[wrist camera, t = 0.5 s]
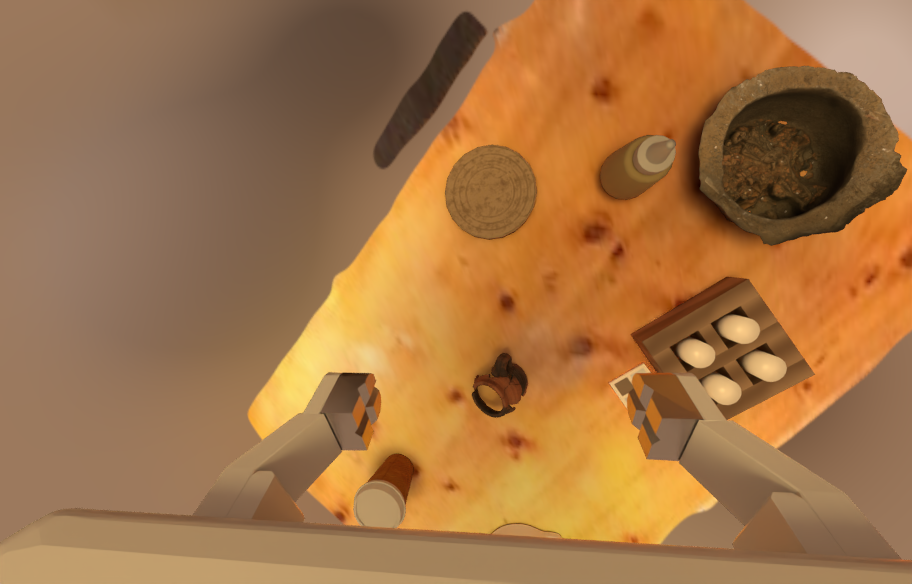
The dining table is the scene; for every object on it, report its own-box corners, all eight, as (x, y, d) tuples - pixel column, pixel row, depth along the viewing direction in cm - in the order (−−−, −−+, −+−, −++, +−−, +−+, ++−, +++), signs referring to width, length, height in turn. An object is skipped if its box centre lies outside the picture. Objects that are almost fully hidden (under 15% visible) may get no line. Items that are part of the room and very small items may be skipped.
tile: (665, 394, 59) (666, 395, 59) (630, 413, 60) (631, 415, 60) (643, 362, 59) (644, 363, 59) (608, 382, 60) (609, 383, 60)
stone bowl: (752, 275, 55) (796, 276, 46) (640, 174, 57) (661, 156, 48) (893, 160, 50) (974, 136, 41) (764, 55, 53) (813, 10, 43)
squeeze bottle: (644, 201, 56) (707, 176, 38) (594, 205, 57) (633, 183, 40) (644, 152, 55) (709, 103, 38) (593, 157, 57) (633, 112, 39)
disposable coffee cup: (408, 497, 69) (388, 547, 57) (370, 473, 70) (342, 518, 58) (428, 461, 68) (412, 505, 56) (389, 438, 68) (364, 476, 56)
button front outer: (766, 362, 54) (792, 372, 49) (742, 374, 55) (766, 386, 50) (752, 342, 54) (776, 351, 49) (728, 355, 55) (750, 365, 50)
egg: (701, 350, 55) (720, 359, 50) (679, 362, 56) (696, 372, 51) (688, 330, 55) (705, 338, 50) (666, 343, 56) (681, 351, 51)
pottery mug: (530, 403, 64) (511, 430, 57) (488, 386, 69) (466, 410, 63) (533, 349, 59) (512, 372, 53) (487, 336, 64) (464, 355, 58)
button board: (787, 363, 56) (814, 374, 51) (688, 416, 59) (704, 431, 54) (726, 276, 56) (748, 279, 51) (630, 334, 59) (642, 341, 54)
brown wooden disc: (478, 256, 62) (477, 256, 59) (431, 185, 62) (427, 182, 59) (552, 205, 59) (555, 203, 56) (503, 131, 59) (503, 125, 56)
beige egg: (741, 327, 54) (765, 334, 49) (718, 340, 55) (739, 348, 50) (727, 307, 54) (750, 312, 49) (704, 320, 55) (724, 327, 50)
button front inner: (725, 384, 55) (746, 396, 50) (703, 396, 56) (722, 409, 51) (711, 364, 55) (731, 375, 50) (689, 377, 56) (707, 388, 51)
